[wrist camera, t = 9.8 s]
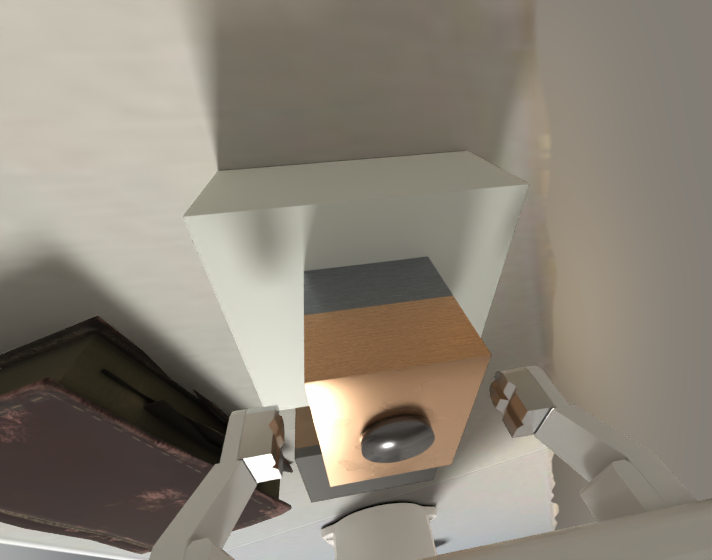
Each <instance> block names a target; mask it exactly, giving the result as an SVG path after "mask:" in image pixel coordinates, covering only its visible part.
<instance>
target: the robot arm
mask: <svg viewBox="0 0 712 560" xmlns="http://www.w3.org/2000/svg"><path fill="white" fill-rule="evenodd" d="M494 377H495V379H496V380H495V381H494V382H493V383H492V384H491V386H490V389H489V390H490V397H491V400H492V402H493V404H494V406H495V408H496V409H497V410H499V411H500V412H501V413H503V418H502V421H503V422H504V424H505V426H506V428H507V429H508V431H509V433H510V435H511V436H512V438H514V437H521V436H528V435H534V436H535V437H536V438H537V439H539V440H540V441H541V442H542V443H543V444H544V445H546V446H547V447H548V448H549V449H550V450H552V451H553V452H554V453H555V454H556V455H558V456H559V457H560V458H561V459H562V460H564V461H565V462H566V463H567V464H568V465H570V466H571V467H572V468H573V469H574V470H575V471H577V472H578V473H579V474H580V475H581V476H583V477H584V478H585V479H586V480H587V481H588V482H590V483H588V485H586V486H585V487H584V488H583V489H582V490H581V493H580V496H581V497H582V499H583V501H584V502H585V504H586V505H587V507H588V508H589V510H590V512H591V513H592V515H593V516H594V518H595V519H596V521H597V522H595V523H590V524H586V525H581V526H575V527H571V528H566V529H561V530H556V531H551V532H547V533H542V534H537V535H532V536H527V537H523V538H518V539H513V540H508V541H503V542H499V543H494V544H489V545H484V546H479V547H475V548H470V549H465V550H460V551H455V552H451V553H446V554H441V555H437V552H436V548H435V544H434V539H433V535H432V531H431V527H430V522H431V521H432V520H433V519H434V518H435V517H436V516H437V512H436V508H435V507H424V506H420V505H417V504H412V503H394V504H386V505H380V506H375V507H371V508H367V509H364V510H361V511H358V512H355V513H353V514H350V515H348V516H346V517H345V518H343V519H341V520H340V521H338V522H337V523H335V524H333V525H331V526H328V527H326V528H324V529H322V530H321V533H322V538H323V539H324V540H325V541H327V542H328V543H330V544H331V545H332V546H334V552H335V560H712V498H710V499H705V500H700V501H697V500H696V499H695V498H694V497H693V496H692V494H691V493H690V492H689V491H688V490H687V489H686V488H685V487H684V486H683V485H682V483H681V482H680V481H679V480H678V479H677V478H676V477H675V476H674V475H673V473H672V472H671V471H670V470H669V469H668V468H667V467H666V466H665V465H664V463H663V462H662V461H661V460H660V459H659V458H658V457H657V456H656V455H655V453H653V452H652V451H650V450H648V449H647V448H645V447H644V446H642V445H640V444H638V443H637V442H635V441H634V440H632V439H630V438H629V437H627V436H625V435H624V434H622V433H620V432H619V431H617V430H615V429H614V428H612V427H611V426H609V425H607V424H606V423H604V422H602V421H601V420H599V419H597V418H595V417H594V416H592V415H591V414H589V413H587V412H586V411H584V410H582V409H581V408H579V407H577V406H576V405H570V404H569V403H568V402H567V400H566V399H565V398H564V396H563V395H562V394H561V393H560V391H559V390H558V389H557V387H556V386H555V385H554V384H553V382H552V381H551V380H550V379H549V377H548V376H547V375H546V374H545V372H544V371H543V370H542V369H541V368H540V367H539V366H536V365H532V366H526V367H519V368H513V369H507V370H501V371H498V372H496V373H495V376H494ZM283 444H284V423H283V419H282V416H280V415H279V408H278V405H271V406H264V407H258V408H251V409H243V410H237V411H232V413H231V415H230V417H229V422H228V426H227V431H226V436H225V440H224V445H223V450H222V455H221V459H220V463H219V464H215V465H214V466H213V468H212V469H211V470H210V472H209V473H208V474H207V476H206V477H205V478H204V480H203V481H202V482H201V484H200V485H199V486H198V488H197V489H196V490H195V492H194V493H193V494H192V496H191V497H190V498H189V500H188V501H187V502H186V503H185V505H184V506H183V507H182V509H181V510H180V511H179V513H178V514H177V515H176V517H175V518H174V519H173V521H172V522H171V523H170V525H169V526H168V527H167V529H166V530H165V531H164V533H163V534H162V535H161V537H160V538H159V539H158V541H157V542H156V543H155V545H154V546H153V549H152V552H151V555H150V558H149V560H234V558H232V557H231V556H230V555H229V554H227V553H226V552H225V551H224V550H222V548H223V546H224V545H225V543H226V541H227V539H228V537H229V535H230V533H231V532H232V530H233V528H234V526H235V524H236V522H237V521H238V519H239V517H240V515H241V513H242V511H243V510H244V508H245V506H246V504H247V502H248V500H249V499H250V497H251V495H252V493H253V491H254V489H255V488H256V486H257V484H256V483H259V482H264V481H269V480H274V479H279V478H282V471H283V455H282V452H281V450H280V449H281V447H282V446H283Z"/></svg>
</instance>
